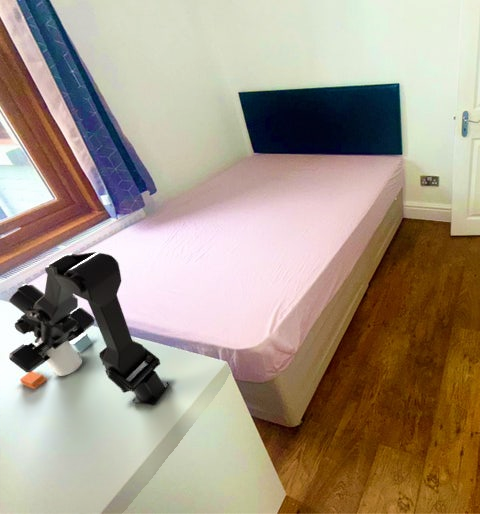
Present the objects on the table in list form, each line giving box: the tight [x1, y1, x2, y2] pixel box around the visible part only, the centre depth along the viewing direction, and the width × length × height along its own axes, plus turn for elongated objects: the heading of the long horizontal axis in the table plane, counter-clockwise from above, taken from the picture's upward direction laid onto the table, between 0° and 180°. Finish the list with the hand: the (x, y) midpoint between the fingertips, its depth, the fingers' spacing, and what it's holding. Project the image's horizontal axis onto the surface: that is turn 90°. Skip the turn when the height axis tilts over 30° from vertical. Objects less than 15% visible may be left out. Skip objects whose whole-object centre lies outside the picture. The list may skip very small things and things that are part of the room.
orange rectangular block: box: [19, 371, 48, 390], centre depth 98 cm, size 6×3×2 cm, turn 67°
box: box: [69, 332, 93, 354], centre depth 108 cm, size 6×4×4 cm
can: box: [33, 337, 83, 377], centre depth 98 cm, size 6×6×12 cm
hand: (54, 350), depth 98 cm, fingers closed on can, 6 cm apart
